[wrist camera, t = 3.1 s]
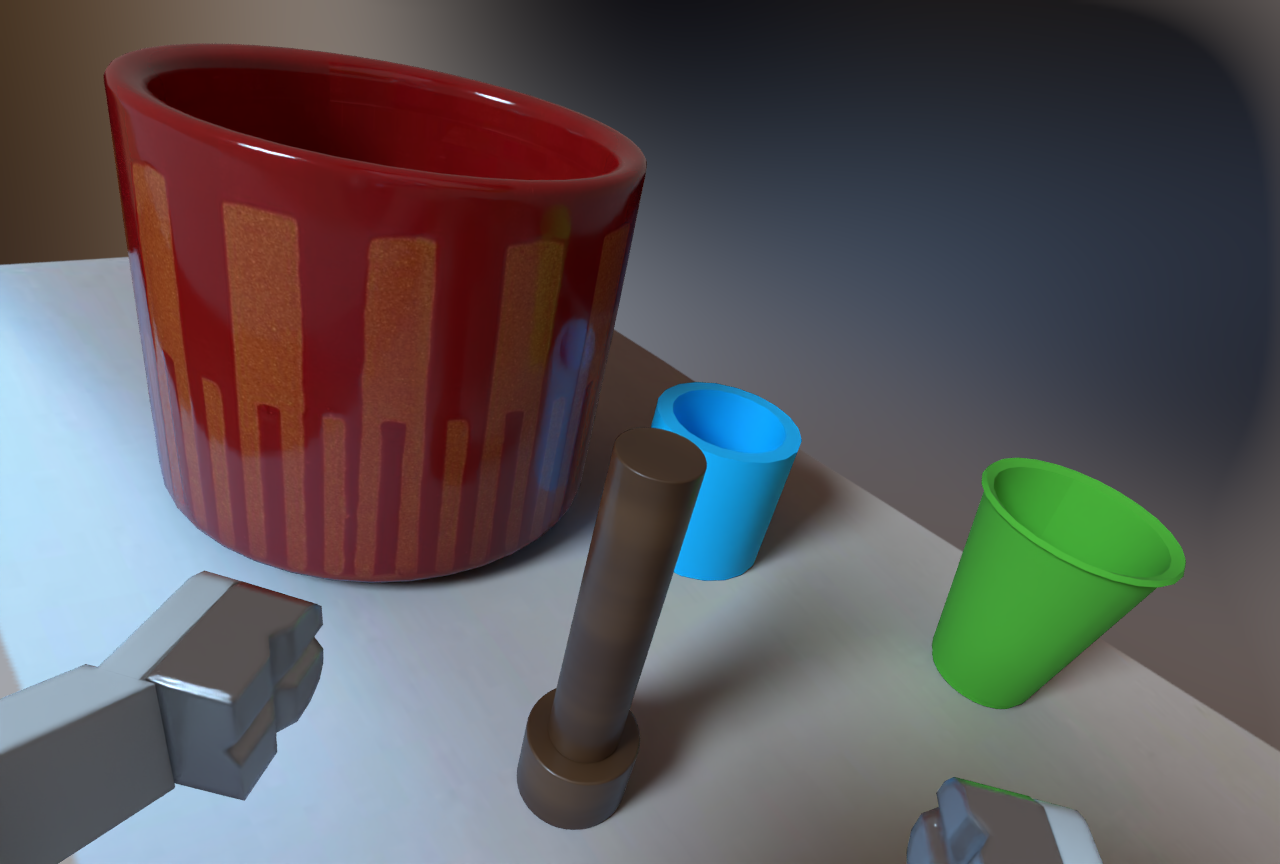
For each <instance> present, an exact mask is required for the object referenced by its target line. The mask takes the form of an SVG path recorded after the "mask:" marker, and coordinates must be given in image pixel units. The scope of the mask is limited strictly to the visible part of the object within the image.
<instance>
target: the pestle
mask: <svg viewBox="0 0 1280 864" xmlns="http://www.w3.org/2000/svg"><path fill="white" fill-rule="evenodd" d="M706 469H707V461H706V458H705V455H704V454H703V452H702V451H701V450H700V448H699V447H698V446H696V445H695V444H694V443H693V442H691V441H690V440H688V439H687V438H685V437H683V436H681V435H679V434H676V433H673V432H671V431H667V430H663V429H658V428H645V427H643V428H635V429H630V430H628V431H625V432H623V433H622V434H621V435H619V436H618V438H617V439H616V440H615V443H614V446H613V451H612V455H611V459H610V463H609V468H608V472H607V476H606V480H605V485H604V489H603V493H602V497H601V502H600V506H599V510H598V514H597V519H596V523H595V527H594V531H593V536H592V540H591V544H590V548H589V553H588V557H587V561H586V566H585V570H584V574H583V578H582V583H581V587H580V591H579V595H578V600H577V604H576V608H575V612H574V617H573V621H572V625H571V629H570V634H569V638H568V642H567V646H566V651H565V655H564V659H563V663H562V668H561V672H560V676H559V680H558V685H557V688H556V689H554V690H552V691H550V692H548V693H547V694H545V695H544V696H543V697H542V698H541V699H540V700H538V702H537V703H536V704H535V705H534V707H533V709H532V710H531V712H530V715H529V717H528V721H527V725H526V730H525V735H524V740H523V744H522V749H521V754H520V758H519V763H518V768H517V783H518V788H519V791H520V794H521V796H522V798H523V800H524V802H525V803H526V805H527V806H528V808H529V809H530V810H531V811H532V812H533V813H534V814H535V815H536V816H537V817H538V818H540V819H541V820H543V821H544V822H546V823H548V824H550V825H552V826H555V827H558V828H563V829H570V830H577V829H585V828H589V827H592V826H595V825H597V824H599V823H601V822H603V821H604V820H606V819H607V818H608V817H609V816H611V815H612V814H613V813H614V811H615V810H616V809H617V807H618V806H619V804H620V802H621V800H622V797H623V795H624V792H625V789H626V786H627V783H628V780H629V777H630V775H631V772H632V769H633V766H634V763H635V760H636V757H637V754H638V751H639V746H640V733H639V728H638V725H637V722H636V719H635V717H634V715H633V714H632V712H631V711H630V707H631V704H632V701H633V697H634V694H635V691H636V688H637V685H638V682H639V679H640V676H641V672H642V669H643V666H644V663H645V660H646V657H647V654H648V651H649V647H650V644H651V641H652V638H653V635H654V632H655V629H656V626H657V622H658V619H659V616H660V613H661V610H662V607H663V604H664V601H665V597H666V594H667V591H668V588H669V585H670V582H671V579H672V576H673V572H674V569H675V566H676V563H677V560H678V557H679V554H680V551H681V547H682V544H683V541H684V538H685V535H686V532H687V529H688V526H689V522H690V519H691V516H692V513H693V510H694V507H695V504H696V501H697V497H698V494H699V491H700V488H701V485H702V482H703V479H704V476H705V472H706Z"/></svg>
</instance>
